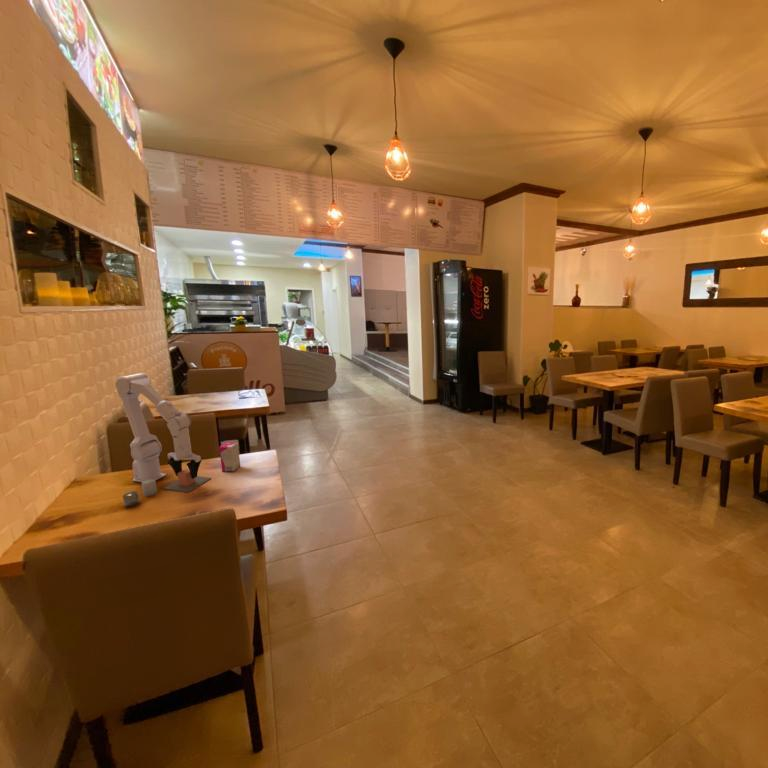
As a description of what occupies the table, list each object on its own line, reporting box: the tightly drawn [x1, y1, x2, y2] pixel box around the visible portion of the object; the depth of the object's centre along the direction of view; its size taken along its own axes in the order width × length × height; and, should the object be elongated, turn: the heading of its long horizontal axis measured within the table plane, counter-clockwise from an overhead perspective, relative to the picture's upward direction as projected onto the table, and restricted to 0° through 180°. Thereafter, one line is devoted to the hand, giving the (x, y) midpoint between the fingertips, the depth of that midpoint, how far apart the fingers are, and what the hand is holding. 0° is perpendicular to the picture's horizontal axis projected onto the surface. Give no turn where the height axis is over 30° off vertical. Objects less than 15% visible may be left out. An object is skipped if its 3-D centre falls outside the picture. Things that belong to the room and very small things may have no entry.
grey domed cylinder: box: [141, 479, 158, 497], centre depth 139 cm, size 4×4×5 cm
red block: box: [177, 468, 195, 486], centre depth 145 cm, size 4×4×5 cm
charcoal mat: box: [163, 475, 212, 494], centre depth 146 cm, size 12×12×1 cm
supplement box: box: [218, 442, 241, 473], centre depth 158 cm, size 6×6×12 cm
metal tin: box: [122, 490, 140, 508], centre depth 131 cm, size 4×4×4 cm
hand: (186, 476), depth 146 cm, fingers open, 7 cm apart
